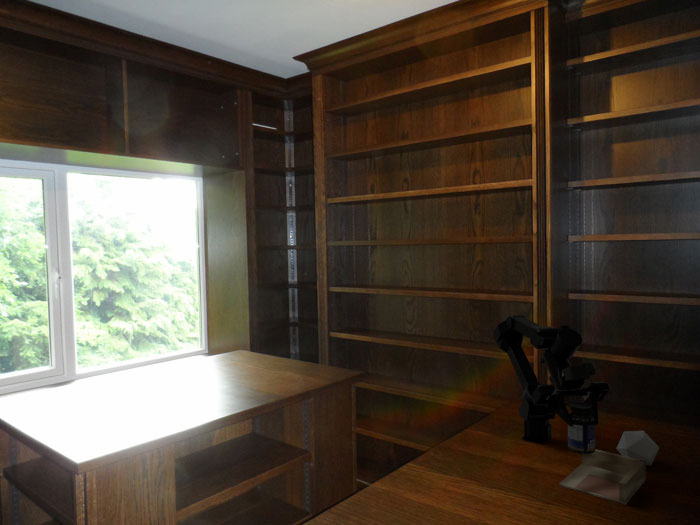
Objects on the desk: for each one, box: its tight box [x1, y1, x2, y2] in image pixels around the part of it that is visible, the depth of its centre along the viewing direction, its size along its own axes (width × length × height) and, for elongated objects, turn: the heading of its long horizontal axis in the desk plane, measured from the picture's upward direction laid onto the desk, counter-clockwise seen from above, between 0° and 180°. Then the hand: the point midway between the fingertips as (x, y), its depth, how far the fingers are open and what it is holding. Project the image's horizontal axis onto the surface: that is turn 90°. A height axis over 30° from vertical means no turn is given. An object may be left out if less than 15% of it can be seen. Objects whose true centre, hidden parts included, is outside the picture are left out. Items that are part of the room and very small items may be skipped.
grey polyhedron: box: [616, 430, 660, 466], centre depth 129 cm, size 8×9×10 cm
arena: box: [558, 448, 647, 505], centre depth 119 cm, size 14×16×4 cm
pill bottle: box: [567, 402, 596, 455], centre depth 124 cm, size 6×6×11 cm
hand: (584, 425), depth 123 cm, fingers closed on pill bottle, 6 cm apart
